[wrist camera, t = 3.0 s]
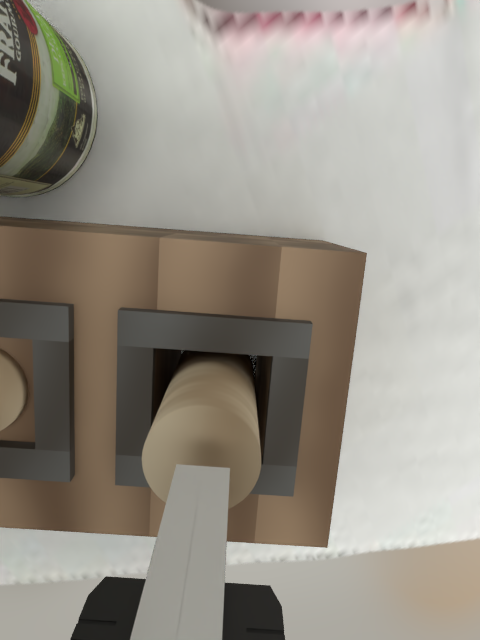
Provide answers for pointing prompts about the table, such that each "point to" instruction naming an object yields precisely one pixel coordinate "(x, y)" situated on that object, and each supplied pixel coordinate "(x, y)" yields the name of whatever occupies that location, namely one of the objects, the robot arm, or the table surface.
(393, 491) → the table surface
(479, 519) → the table surface
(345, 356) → the socket block
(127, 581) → the robot arm
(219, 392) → the dowel
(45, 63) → the coffee can
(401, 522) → the table surface
